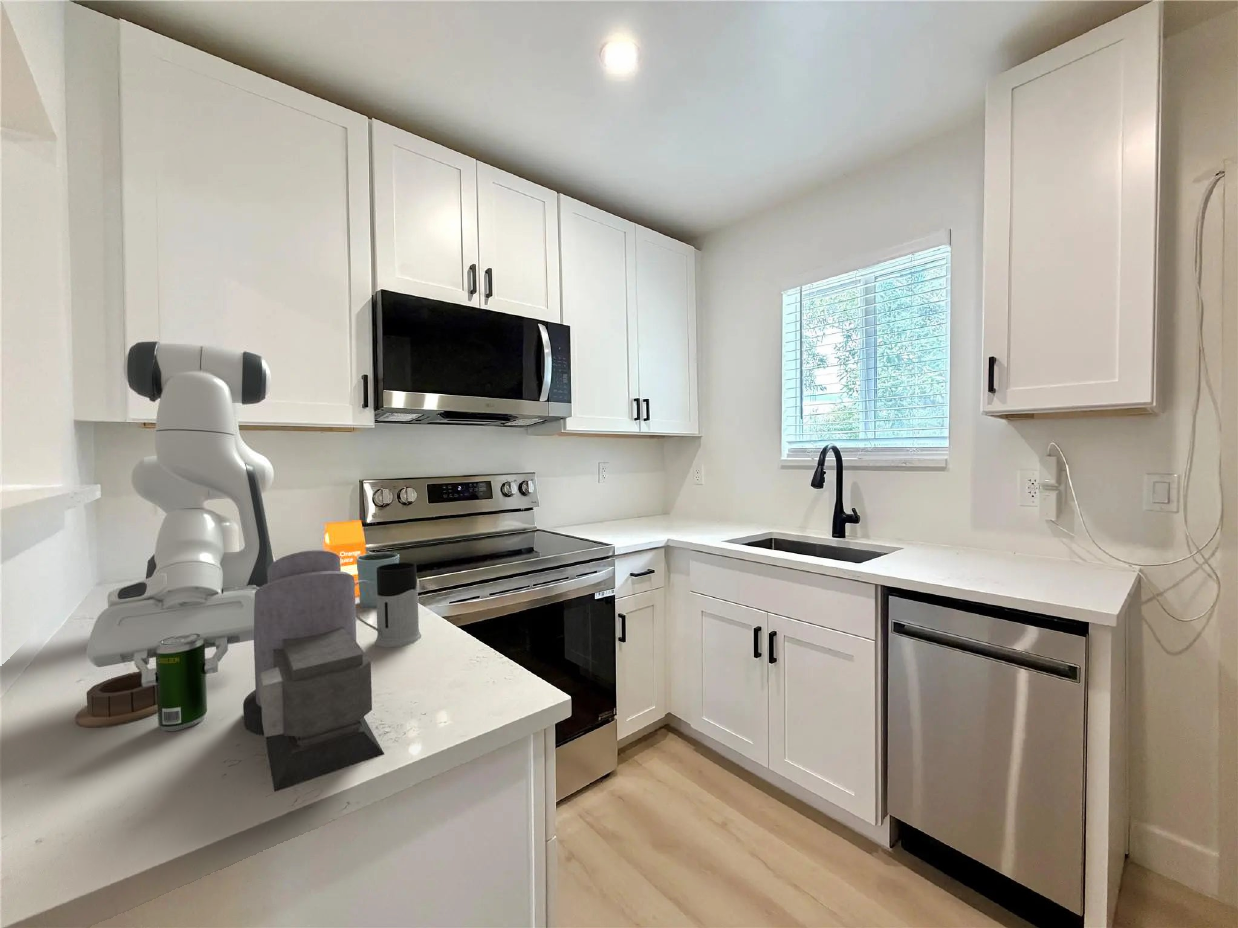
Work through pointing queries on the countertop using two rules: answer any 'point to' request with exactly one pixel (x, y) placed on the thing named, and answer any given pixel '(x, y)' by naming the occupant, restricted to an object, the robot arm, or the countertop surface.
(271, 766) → the juicer
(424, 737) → the countertop surface
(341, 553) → the orange juice
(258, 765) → the countertop surface
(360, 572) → the teal cup
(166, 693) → the beer can
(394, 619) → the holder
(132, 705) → the collar coaster
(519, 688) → the countertop surface
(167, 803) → the countertop surface
